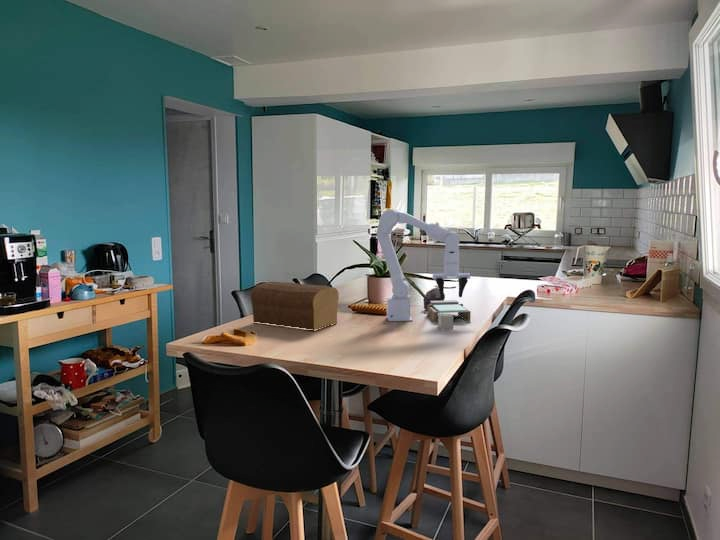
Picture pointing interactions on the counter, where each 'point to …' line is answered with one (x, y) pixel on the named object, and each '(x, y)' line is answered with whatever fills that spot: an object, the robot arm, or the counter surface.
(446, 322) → the grey block
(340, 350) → the counter surface
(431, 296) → the rock
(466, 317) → the frame
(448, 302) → the trapdoor
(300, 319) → the bread
